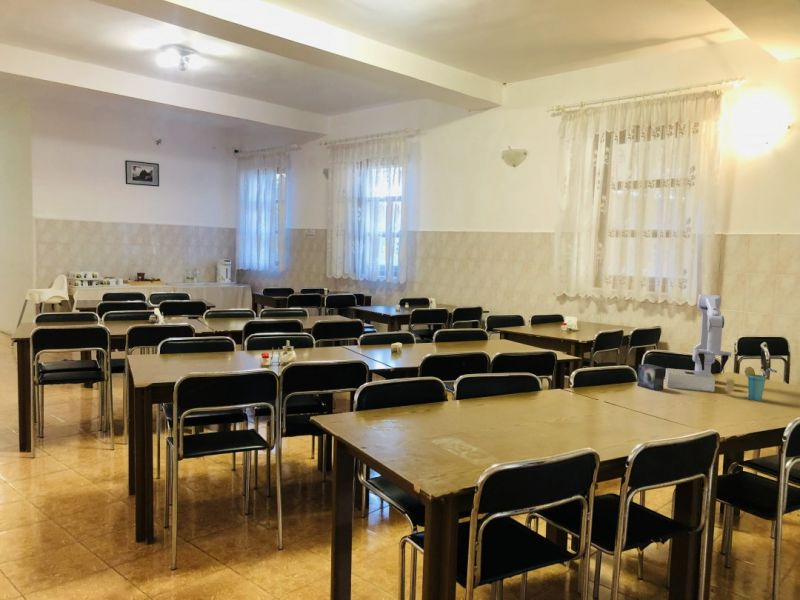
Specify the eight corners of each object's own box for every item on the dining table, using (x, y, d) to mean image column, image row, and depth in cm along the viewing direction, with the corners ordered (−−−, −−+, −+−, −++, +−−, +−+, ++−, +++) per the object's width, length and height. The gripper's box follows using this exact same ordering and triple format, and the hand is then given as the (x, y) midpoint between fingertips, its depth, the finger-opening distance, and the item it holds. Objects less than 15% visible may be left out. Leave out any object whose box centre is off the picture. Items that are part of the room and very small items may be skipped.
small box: (636, 385, 295) (637, 364, 295) (646, 385, 298) (647, 363, 297) (653, 390, 286) (655, 368, 285) (663, 389, 289) (665, 367, 288)
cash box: (665, 381, 309) (665, 368, 309) (709, 385, 303) (710, 372, 302) (667, 387, 294) (668, 373, 294) (714, 391, 288) (715, 378, 287)
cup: (778, 402, 270) (781, 368, 269) (769, 404, 266) (772, 370, 265) (745, 395, 282) (748, 363, 281) (736, 397, 277) (739, 364, 276)
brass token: (725, 388, 297) (726, 378, 297) (731, 388, 296) (732, 378, 296) (727, 390, 292) (728, 380, 292) (733, 391, 292) (734, 380, 291)
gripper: (698, 341, 284) (695, 370, 285) (733, 344, 279) (730, 373, 281) (696, 339, 291) (694, 367, 292) (730, 342, 286) (728, 371, 287)
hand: (712, 370), depth 287 cm, fingers open, 7 cm apart
